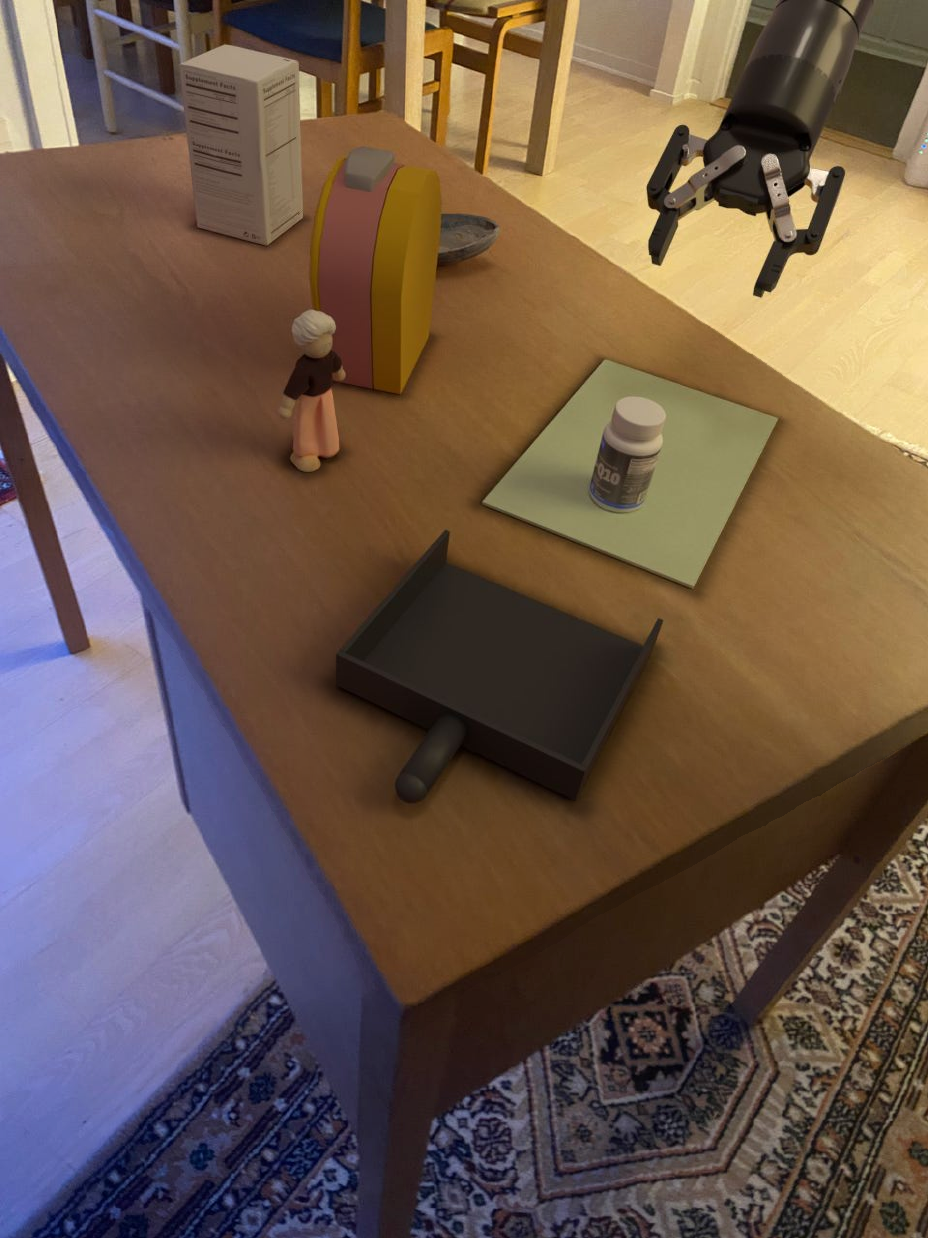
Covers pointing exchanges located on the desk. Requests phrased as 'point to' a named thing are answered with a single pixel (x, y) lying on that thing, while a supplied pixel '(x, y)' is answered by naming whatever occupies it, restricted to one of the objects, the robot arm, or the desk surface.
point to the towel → (679, 489)
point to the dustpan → (490, 676)
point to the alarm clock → (376, 264)
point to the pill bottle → (628, 455)
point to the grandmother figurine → (313, 391)
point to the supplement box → (244, 141)
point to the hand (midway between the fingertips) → (705, 276)
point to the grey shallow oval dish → (465, 237)
